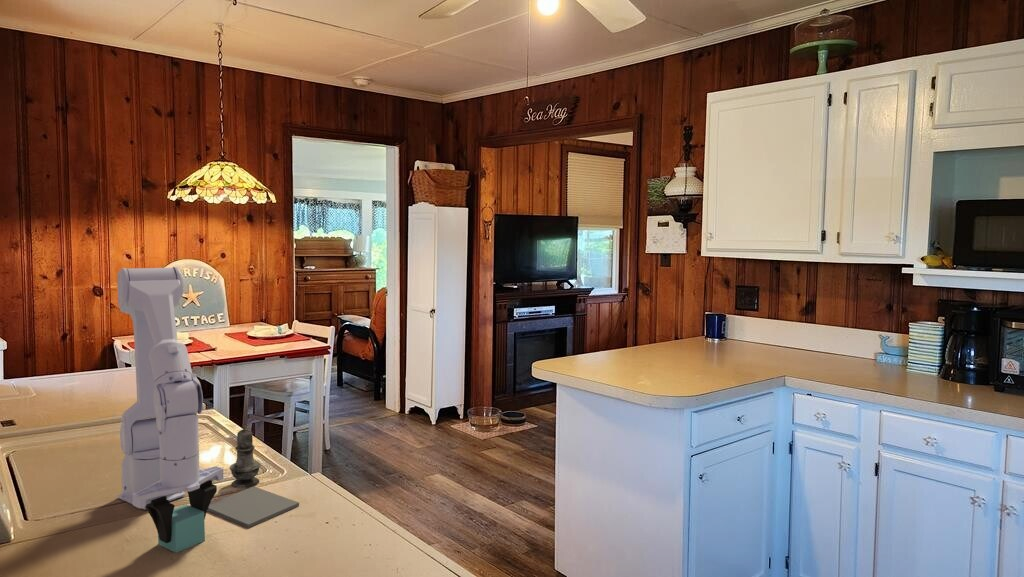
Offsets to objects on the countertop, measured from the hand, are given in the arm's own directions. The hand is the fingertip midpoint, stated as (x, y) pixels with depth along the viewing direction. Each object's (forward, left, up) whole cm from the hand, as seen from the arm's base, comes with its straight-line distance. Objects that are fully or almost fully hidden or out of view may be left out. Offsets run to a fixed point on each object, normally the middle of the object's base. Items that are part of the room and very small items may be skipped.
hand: (181, 534), depth 111 cm
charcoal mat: (-2, +15, -1) cm, 15 cm away
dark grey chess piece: (-13, +22, -2) cm, 25 cm away
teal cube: (0, 0, -1) cm, 1 cm away
